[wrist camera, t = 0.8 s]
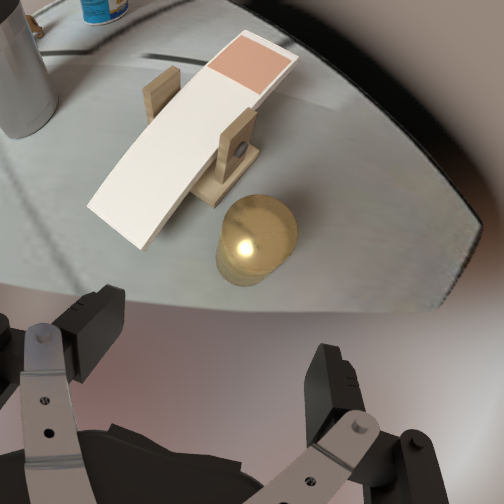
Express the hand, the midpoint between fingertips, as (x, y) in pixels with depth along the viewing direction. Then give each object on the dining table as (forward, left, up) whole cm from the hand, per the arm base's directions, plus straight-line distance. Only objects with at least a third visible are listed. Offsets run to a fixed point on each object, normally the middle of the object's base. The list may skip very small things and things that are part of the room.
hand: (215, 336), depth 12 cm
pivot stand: (-12, +15, -18) cm, 26 cm away
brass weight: (-1, +8, -18) cm, 20 cm away
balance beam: (-12, +15, -12) cm, 23 cm away
